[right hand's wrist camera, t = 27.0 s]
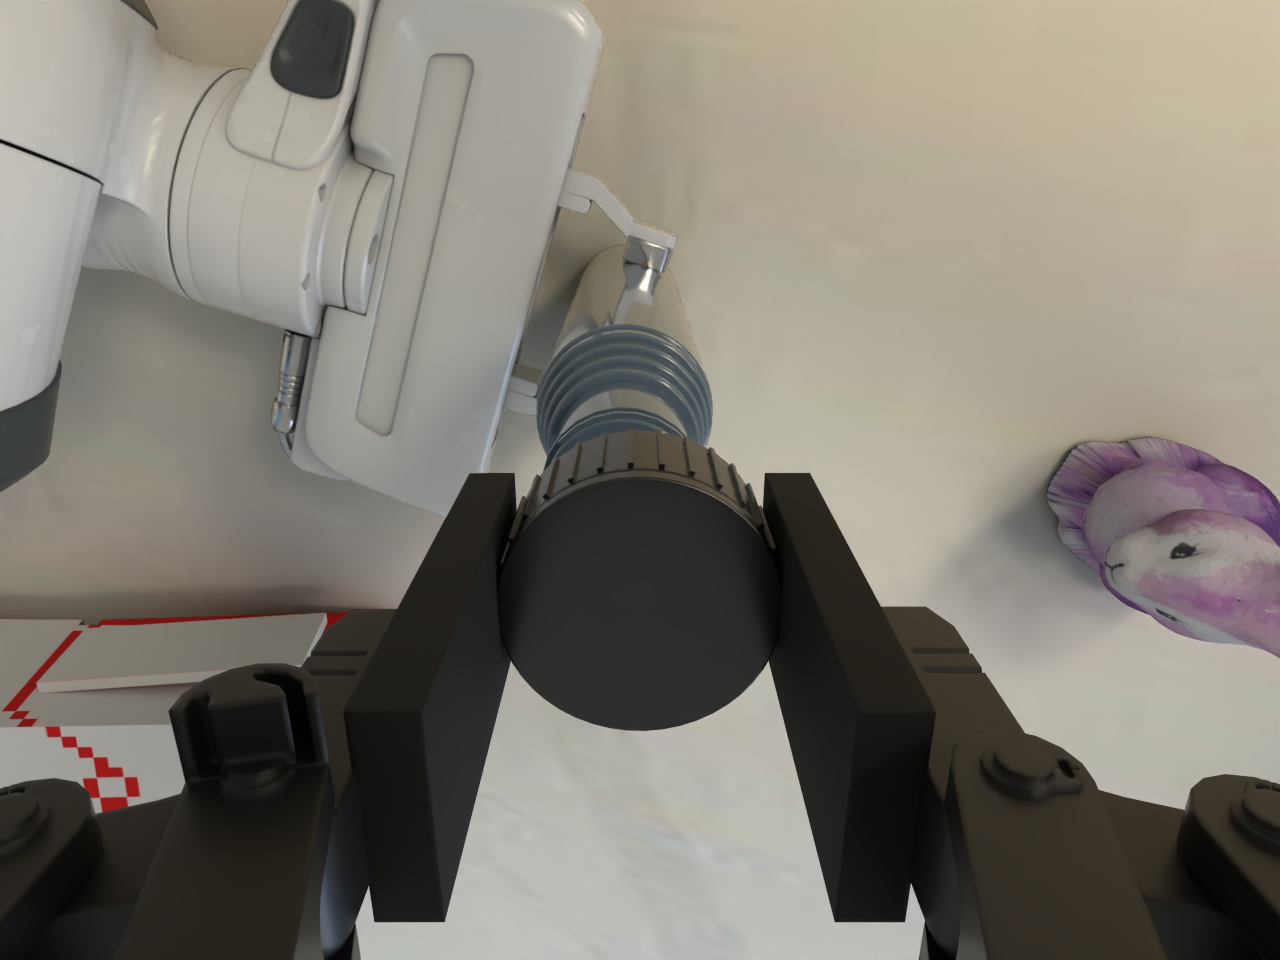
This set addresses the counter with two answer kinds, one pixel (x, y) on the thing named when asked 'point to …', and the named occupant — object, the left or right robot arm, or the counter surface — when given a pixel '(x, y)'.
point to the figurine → (1176, 537)
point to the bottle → (623, 361)
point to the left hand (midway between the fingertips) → (648, 324)
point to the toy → (122, 693)
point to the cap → (639, 583)
